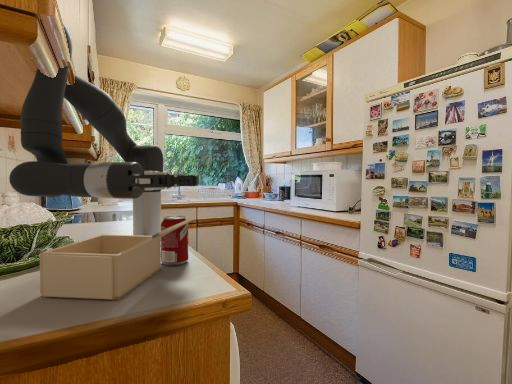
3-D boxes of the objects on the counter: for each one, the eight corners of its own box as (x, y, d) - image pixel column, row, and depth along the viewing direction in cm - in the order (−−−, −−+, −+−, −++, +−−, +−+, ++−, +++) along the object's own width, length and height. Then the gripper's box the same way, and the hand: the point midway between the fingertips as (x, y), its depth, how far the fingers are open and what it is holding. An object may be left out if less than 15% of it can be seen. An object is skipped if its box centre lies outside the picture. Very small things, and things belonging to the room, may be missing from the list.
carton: (101, 266, 67) (100, 234, 67) (161, 268, 66) (161, 235, 65) (35, 297, 49) (34, 253, 49) (117, 301, 48) (116, 256, 47)
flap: (160, 234, 64) (194, 216, 63) (161, 236, 64) (195, 218, 63) (120, 252, 48) (166, 228, 47) (122, 255, 48) (167, 231, 47)
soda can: (174, 268, 66) (174, 219, 65) (155, 264, 69) (154, 217, 68) (193, 261, 72) (193, 216, 71) (175, 257, 75) (174, 214, 74)
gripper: (93, 160, 50) (186, 160, 48) (132, 163, 63) (206, 163, 61) (95, 201, 50) (187, 202, 49) (133, 196, 63) (206, 196, 62)
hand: (197, 180), depth 55 cm, fingers closed
